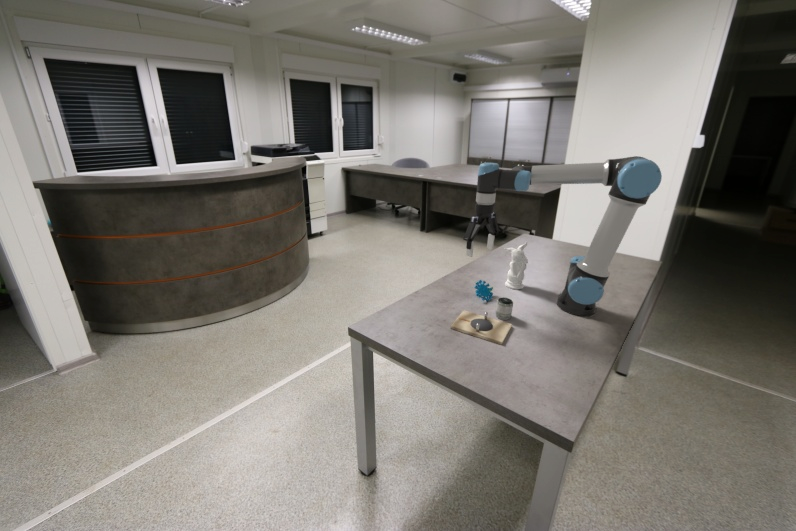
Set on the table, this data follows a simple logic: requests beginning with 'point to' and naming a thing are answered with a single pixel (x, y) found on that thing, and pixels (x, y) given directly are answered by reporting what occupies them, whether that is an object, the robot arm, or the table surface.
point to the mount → (493, 335)
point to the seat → (482, 324)
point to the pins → (479, 324)
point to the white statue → (516, 267)
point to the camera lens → (504, 308)
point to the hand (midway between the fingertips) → (479, 252)
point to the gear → (483, 290)
